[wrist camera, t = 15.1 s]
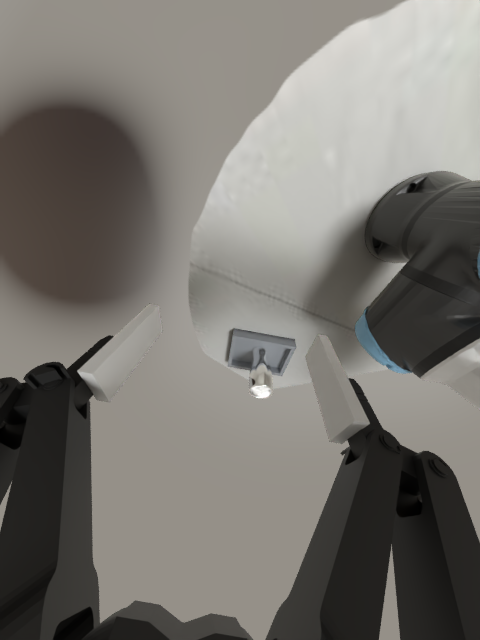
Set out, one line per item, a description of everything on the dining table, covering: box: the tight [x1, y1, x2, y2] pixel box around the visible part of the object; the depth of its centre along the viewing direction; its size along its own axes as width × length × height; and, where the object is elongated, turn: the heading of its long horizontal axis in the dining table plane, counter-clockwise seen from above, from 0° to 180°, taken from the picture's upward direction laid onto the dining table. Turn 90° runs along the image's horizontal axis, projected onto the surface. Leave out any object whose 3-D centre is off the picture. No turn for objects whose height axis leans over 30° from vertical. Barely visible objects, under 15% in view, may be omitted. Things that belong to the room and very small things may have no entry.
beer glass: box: [249, 346, 273, 399], centre depth 52 cm, size 7×7×15 cm
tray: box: [228, 329, 296, 376], centre depth 58 cm, size 20×15×4 cm
